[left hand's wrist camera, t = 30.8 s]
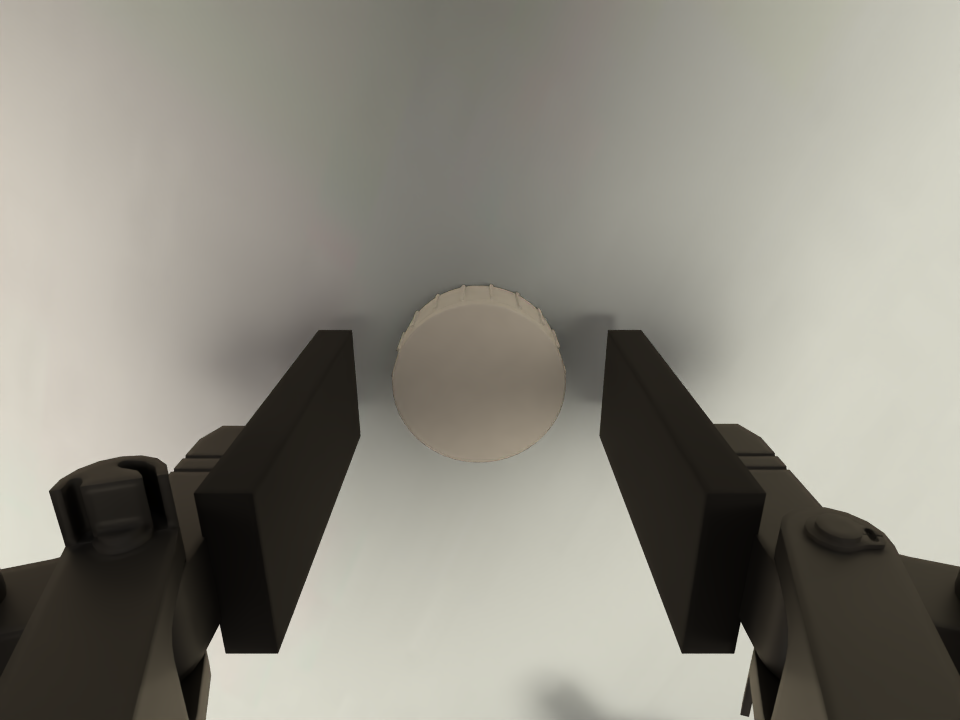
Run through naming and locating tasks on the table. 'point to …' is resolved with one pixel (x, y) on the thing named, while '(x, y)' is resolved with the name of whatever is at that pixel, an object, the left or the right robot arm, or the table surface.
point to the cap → (479, 374)
